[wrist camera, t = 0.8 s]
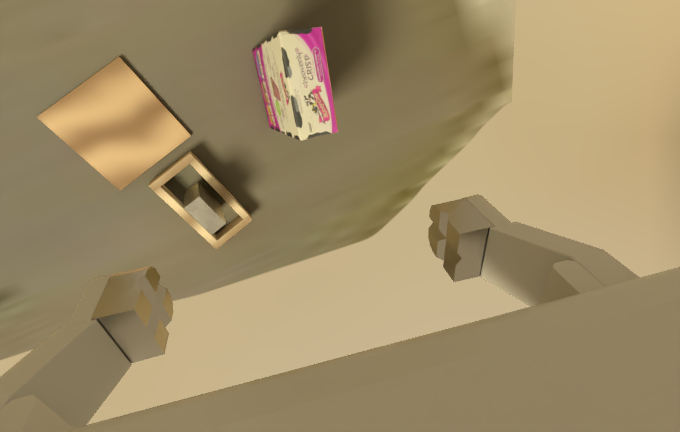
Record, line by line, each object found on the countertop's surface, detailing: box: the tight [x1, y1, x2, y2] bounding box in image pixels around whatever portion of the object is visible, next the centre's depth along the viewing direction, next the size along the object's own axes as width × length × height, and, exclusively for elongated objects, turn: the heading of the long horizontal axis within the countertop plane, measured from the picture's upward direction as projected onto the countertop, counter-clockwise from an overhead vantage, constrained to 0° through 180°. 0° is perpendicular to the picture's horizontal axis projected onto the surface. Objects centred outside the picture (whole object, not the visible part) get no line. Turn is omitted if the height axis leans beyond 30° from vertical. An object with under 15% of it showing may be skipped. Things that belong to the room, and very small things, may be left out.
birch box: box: [149, 151, 253, 249], centre depth 52 cm, size 13×7×2 cm, turn 35°
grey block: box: [184, 182, 226, 235], centre depth 49 cm, size 5×2×8 cm, turn 35°
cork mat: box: [37, 57, 191, 190], centre depth 46 cm, size 12×12×1 cm
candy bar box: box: [252, 27, 339, 141], centre depth 44 cm, size 11×5×16 cm, turn 10°
